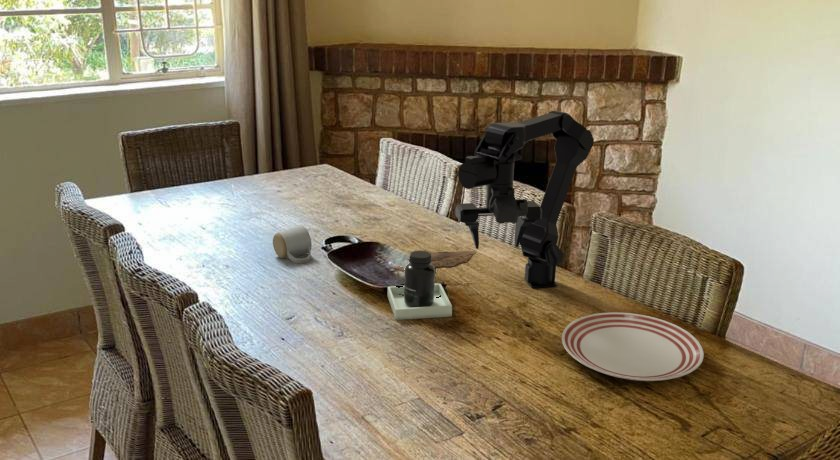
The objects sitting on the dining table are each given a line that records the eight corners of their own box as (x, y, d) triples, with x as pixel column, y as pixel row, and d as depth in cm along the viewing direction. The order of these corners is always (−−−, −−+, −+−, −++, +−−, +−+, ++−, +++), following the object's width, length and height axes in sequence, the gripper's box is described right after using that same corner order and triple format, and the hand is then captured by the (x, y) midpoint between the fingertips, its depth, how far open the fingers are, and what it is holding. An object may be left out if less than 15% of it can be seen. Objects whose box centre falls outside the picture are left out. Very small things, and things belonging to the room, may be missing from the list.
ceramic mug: (271, 254, 204) (270, 227, 202) (298, 248, 209) (297, 221, 206) (291, 267, 197) (290, 239, 194) (319, 260, 201) (318, 232, 199)
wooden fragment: (404, 277, 191) (404, 273, 191) (384, 263, 200) (384, 259, 200) (490, 260, 204) (490, 257, 203) (467, 247, 213) (467, 244, 212)
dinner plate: (681, 408, 137) (683, 391, 136) (539, 365, 151) (540, 350, 150) (715, 347, 159) (717, 332, 158) (588, 315, 173) (590, 301, 172)
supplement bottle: (402, 308, 172) (403, 258, 168) (405, 296, 179) (406, 247, 175) (433, 310, 172) (434, 260, 168) (435, 297, 178) (436, 249, 174)
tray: (440, 293, 182) (440, 283, 181) (451, 316, 170) (452, 306, 170) (387, 296, 180) (387, 286, 179) (395, 320, 168) (395, 309, 167)
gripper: (467, 193, 161) (464, 262, 166) (552, 189, 164) (547, 258, 169) (455, 178, 171) (453, 244, 176) (536, 176, 174) (531, 240, 179)
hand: (496, 247), depth 175 cm, fingers open, 9 cm apart
